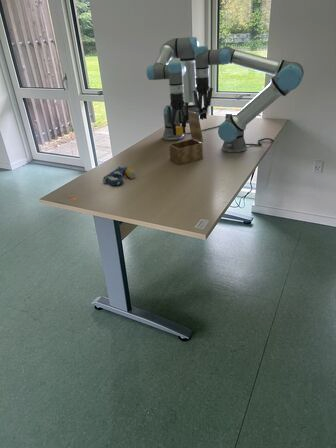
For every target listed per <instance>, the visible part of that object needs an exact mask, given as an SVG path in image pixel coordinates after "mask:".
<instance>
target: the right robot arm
mask: <svg viewBox="0 0 336 448" xmlns="http://www.w3.org/2000/svg"><path fill="white" fill-rule="evenodd" d="M221 65H222V66H224V65H234V66H238V67H242V68H246V69H248V70H252V71H256V72H260V73H263V74H267V75H270V76H273V77H271V78H270V83H268V85H267V86H266V87H264V89H262V91H260V92H259V93H258V94H257V95H256V96H255V97H253V98H252V99H251V100H249V102H248V103H246V104H245V106H243V107H242V108H241V109H240V110H239V111H237V112H226V113H225V117H224V118H225V120H224V121H223V122H222V123H221V124H219V125H220V126H219V125H218V126H219V127H218V129H217V135H218V137H219V139H221V140H222V141H223V143H222V146H221V147H222V148H221V149H222V151H223V152H226V153H232V154H236V153H237V154H238V153H242V152H244V151H246V150H247V146H257V147H259V146H262V143H263V142H261V141H266V140H267V141H268V140H269V141H271V142H274V139H272V138H270V137H265V138H260V139H258V140H257V143H246V140H245V130H246V129H247V125H249V124H250V123H251V122H252V121H253V120H254V119H256V118H257V117H259V116H258V115H261V113H262V112H263V111H265V110H266V109H267V108H268V107H270V106H271V105H272V104H273V103H274V102H275V101H277V100H278V99H279V98H280V97H286V96H287V95H288V94H289V93H290V92H291V91H293V90H296V89H297V88H298V87H299V86H300V84H301V83H302V80H303V77H304V73H305V71H304V68H303V65H301V64H300V63H299V62H296V61H291V60H285V59H280V60H277V59H273V58H271V57H266V56H261V55H257V54H255V53H250V52H248V51H242V50H239V49H235V48H232V47H231V46H227V45H226V46H223V47H221V48H218V49H209V46H208V45H199V46H198V47H196V48H195V76H196V89H195V90H194V91H192V93H193V95H194V101H195V107H197V108H198V109H199V114H200V113H202V112H203V110H206V111H207V112H208V108H209V107H210V106H211V103H212V93H213V90H214V87H210V84H209V83H210V71H209V70H210V69H209V68H210V66H221ZM207 115H208V113H203V114H201V115H200V120H203V121H204V119H205V120H207Z"/></svg>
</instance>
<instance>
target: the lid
mask: <svg viewBox="0 0 336 448" xmlns="http://www.w3.org/2000/svg"><path fill="white" fill-rule="evenodd" d="M197 112H199V110H198V111H196V112H193V111H190V110H188V114H189V120H188V121H189V123H188V126H189V131H190V133H191V134H190V136H191V139H194V140H197V141H199V142H201V143H204V139H203V138H204V137H203V133H202V132H203V131H201V130H202V128H201V120H199V115H201V114H203V113H206V114H208V110H207V111H206V110H203V112H202V113H200V114H198V113H197Z"/></svg>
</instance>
